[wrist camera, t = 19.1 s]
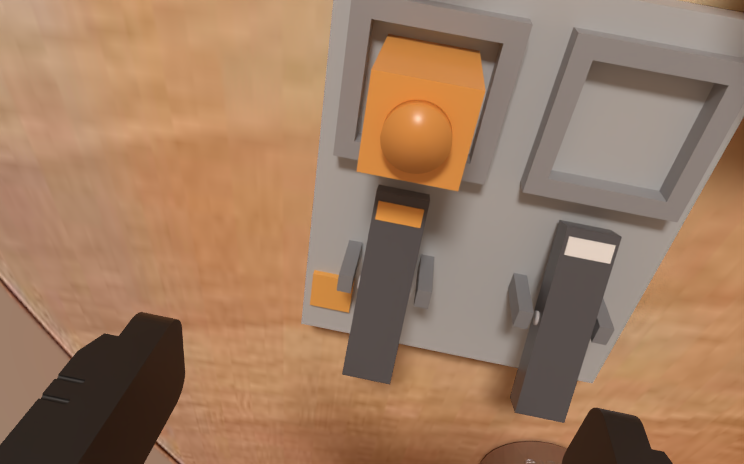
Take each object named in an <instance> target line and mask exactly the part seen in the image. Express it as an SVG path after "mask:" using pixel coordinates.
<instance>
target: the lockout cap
mask: <svg viewBox="0 0 744 464" xmlns="http://www.w3.org/2000/svg"><path fill="white" fill-rule="evenodd" d="M485 91H486V90H485V83H484V76H483V69H482V63H481V56H480V51H478V50H472V49H467V48H462V47H456V46H451V45H446V44H440V43H435V42H429V41H424V40H419V39H413V38H408V37H403V36H397V35H392V34H388V36H387V38H386V40H385V42H384V44H383V46H382V48H381V50H380V52H379V54H378V56H377V59H376V61H375V63H374V65H373V67H372V69H371V75H370V82H369V89H368V96H367V103H366V109H365V116H364V123H363V130H362V137H361V144H360V150H359V157H358V164H357V171H356V172H361V173H366V174H372V175H377V176H382V177H387V178H392V179H397V180H402V181H407V182H413V183H418V184H423V185H428V186H433V187H438V188H443V189H448V190H454V191H458V190H459V187H460V183H461V179H462V176H463V172H464V168H465V164H466V161H467V157H468V153H469V150H470V146H471V142H472V139H473V135H474V131H475V128H476V124H477V120H478V117H479V113H480V109H481V106H482V102H483V98H484V95H485Z"/></svg>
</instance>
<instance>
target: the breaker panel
mask: <svg viewBox="0 0 744 464" xmlns="http://www.w3.org/2000/svg"><path fill="white" fill-rule="evenodd" d="M388 34H392V35H397V36H403V37H408V38H413V39H419V40H424V41H429V42H435V43H440V44H446V45H451V46H456V47H462V48H467V49H472V50H478V51H480V56H481V63H482V69H483V76H484V83H485V90H486V91H485V95H484V98H483V102H482V106H481V109H480V113H479V117H478V120H477V124H476V128H475V131H474V135H473V139H472V142H471V146H470V150H469V153H468V157H467V161H466V164H465V168H464V172H463V176H462V179H461V183H460V187H459V190H458V191H454V190H448V189H443V188H438V187H433V186H428V185H423V184H418V183H413V182H407V181H402V180H397V179H392V178H387V177H382V176H377V175H372V174H366V173H361V172H356V171H357V164H358V157H359V150H360V144H361V137H362V130H363V123H364V116H365V109H366V103H367V96H368V89H369V82H370V75H371V69H372V67H373V65H374V63H375V61H376V59H377V56H378V54H379V52H380V50H381V48H382V46H383V44H384V42H385V40H386V38H387V36H388ZM743 117H744V12H738V11H733V10H727V9H722V8H716V7H711V6H705V5H700V4H694V3H689V2H683V1H678V0H333V10H332V20H331V30H330V40H329V50H328V61H327V71H326V81H325V91H324V101H323V111H322V121H321V131H320V141H319V151H318V161H317V171H316V181H315V191H314V202H313V212H312V222H311V232H310V242H309V252H308V262H307V272H306V282H305V292H304V302H303V312H302V322H301V324H306V325H311V326H316V327H321V328H326V329H331V330H335V331H340V332H345V333H350V330H351V325H352V319H353V314H354V309H355V303H356V298H357V293H358V289H357V284H358V279H359V275H361V271H362V266H363V261H364V255H365V250H366V245H367V239H368V234H369V229H370V223H371V218H372V213H373V207H374V202H375V197H376V191H377V188H378V186H379V185H384V186H389V187H394V188H399V189H404V190H409V191H414V192H420V193H425V194H430V204H429V208H428V213H427V217H426V222H425V227H424V231H423V236H422V240H421V245H420V249H419V254H418V259H417V263H416V268H415V272H414V277H413V281H412V292H411V297H410V300H408V304H407V309H406V313H405V318H404V322H403V327H402V331H401V336H400V341H399V344H404V345H408V346H413V347H418V348H423V349H428V350H433V351H438V352H442V353H447V354H452V355H457V356H462V357H467V358H472V359H477V360H481V361H486V362H491V363H496V364H501V365H506V366H511V367H515V368H518V367H519V363H520V360H521V356H522V353H523V349H524V345H525V342H526V338H527V335H528V331H529V327H530V324H531V320H532V317H533V314H534V310H535V306H536V302H537V299H538V295H539V292H540V288H541V284H542V281H543V277H544V274H545V270H546V267H547V263H548V259H549V256H550V252H551V249H552V245H553V241H554V238H555V234H556V231H557V227H558V223H559V220H563V221H568V222H573V223H579V224H584V225H589V226H594V227H599V228H604V229H609V230H612V231H613V232H615V233H617V234H618V235H620V236H621V237H622V239H621V242H620V245H619V248H618V251H617V255H616V258H615V261H614V264H613V268H612V271H611V274H610V277H609V280H608V284H607V287H606V290H605V293H604V296H603V300H602V303H601V306H600V309H599V312H598V316H597V319H596V322H595V325H594V329H593V332H592V335H591V338H590V341H589V345H588V348H587V351H586V354H585V357H584V361H583V364H582V367H581V370H580V374H579V377H578V380H579V381H584V382H588V383H593V382H594V380H595V378H596V376H597V375H598V373H599V371H600V369H601V367H602V366H603V364H604V362H605V360H606V359H607V357H608V355H609V353H610V352H611V350H612V348H613V346H614V345H615V343H616V341H617V339H618V338H619V336H620V334H621V332H622V330H623V329H624V327H625V325H626V323H627V322H628V320H629V318H630V316H631V315H632V313H633V311H634V309H635V308H636V306H637V304H638V302H639V301H640V299H641V297H642V295H643V293H644V292H645V290H646V288H647V286H648V285H649V283H650V281H651V279H652V278H653V276H654V274H655V272H656V271H657V269H658V267H659V265H660V263H661V262H662V260H663V258H664V256H665V255H666V253H667V251H668V249H669V248H670V246H671V244H672V242H673V241H674V239H675V237H676V235H677V234H678V232H679V230H680V228H681V226H682V225H683V223H684V221H685V219H686V218H687V216H688V214H689V212H690V211H691V209H692V207H693V205H694V204H695V202H696V200H697V198H698V196H699V195H700V193H701V191H702V189H703V188H704V186H705V184H706V182H707V181H708V179H709V177H710V175H711V174H712V172H713V170H714V168H715V167H716V165H717V163H718V161H719V159H720V158H721V156H722V154H723V152H724V151H725V149H726V147H727V145H728V144H729V142H730V140H731V138H732V137H733V135H734V133H735V131H736V130H737V128H738V126H739V124H740V122H741V121H742V119H743Z"/></svg>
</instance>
